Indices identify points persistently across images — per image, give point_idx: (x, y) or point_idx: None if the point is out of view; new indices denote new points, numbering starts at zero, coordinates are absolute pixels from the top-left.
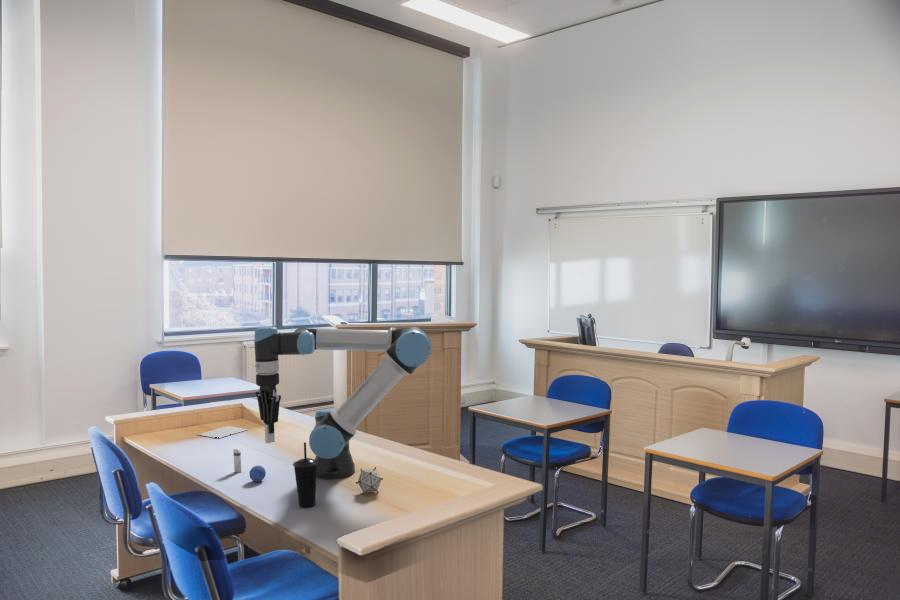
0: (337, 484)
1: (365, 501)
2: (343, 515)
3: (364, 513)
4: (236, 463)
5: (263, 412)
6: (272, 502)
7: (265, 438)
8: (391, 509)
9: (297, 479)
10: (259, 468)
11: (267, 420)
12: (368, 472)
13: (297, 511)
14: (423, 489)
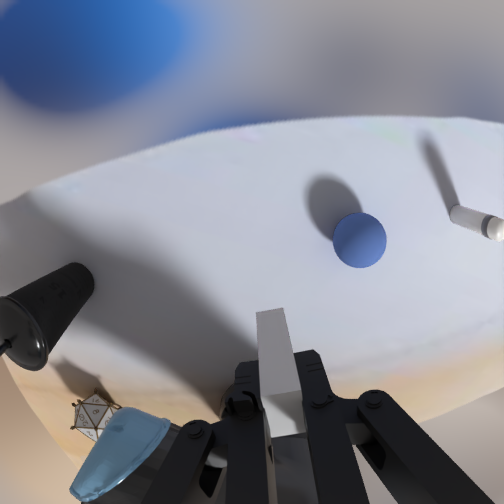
0: (184, 387)
1: (64, 373)
2: None
3: None
4: (468, 214)
5: (343, 468)
6: (136, 212)
7: (281, 322)
8: (26, 377)
9: (26, 285)
10: (351, 249)
11: (254, 427)
12: (79, 427)
13: (54, 247)
14: None
